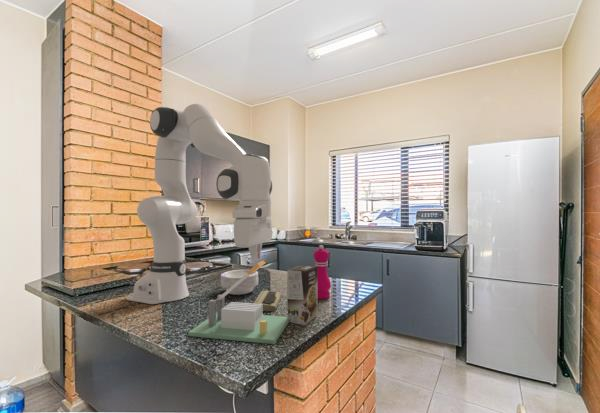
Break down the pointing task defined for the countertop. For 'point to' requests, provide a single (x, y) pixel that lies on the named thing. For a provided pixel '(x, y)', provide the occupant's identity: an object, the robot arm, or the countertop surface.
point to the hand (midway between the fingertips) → (255, 259)
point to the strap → (241, 280)
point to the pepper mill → (322, 272)
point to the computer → (268, 300)
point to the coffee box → (302, 294)
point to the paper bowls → (233, 276)
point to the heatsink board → (243, 334)
